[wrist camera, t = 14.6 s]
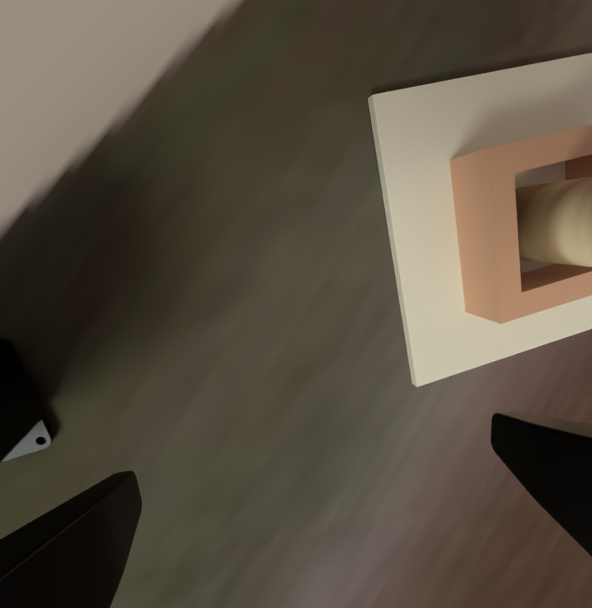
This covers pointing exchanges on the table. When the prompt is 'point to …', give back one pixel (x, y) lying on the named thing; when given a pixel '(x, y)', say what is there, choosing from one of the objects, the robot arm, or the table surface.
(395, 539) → the table surface
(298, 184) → the table surface
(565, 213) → the birch peg
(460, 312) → the socket plate
